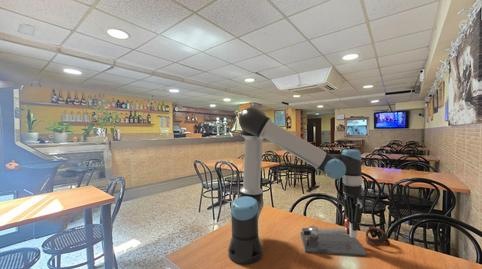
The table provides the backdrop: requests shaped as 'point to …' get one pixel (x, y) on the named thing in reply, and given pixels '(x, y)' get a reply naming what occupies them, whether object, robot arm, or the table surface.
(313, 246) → the base board
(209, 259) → the table surface
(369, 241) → the pottery mug
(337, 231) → the lever
